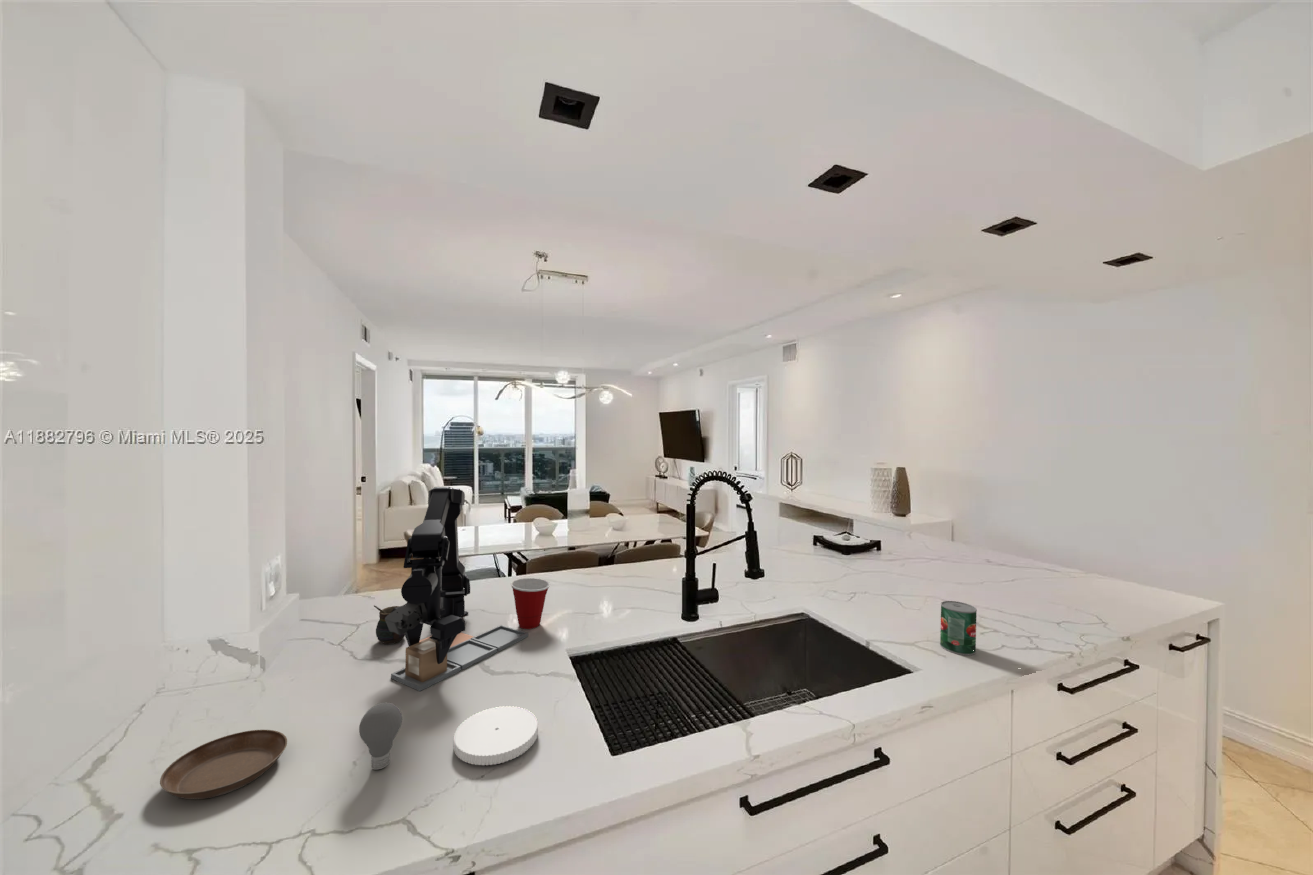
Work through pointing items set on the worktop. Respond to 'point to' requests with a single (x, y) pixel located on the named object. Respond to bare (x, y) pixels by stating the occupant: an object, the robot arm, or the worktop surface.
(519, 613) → the plastic cup
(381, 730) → the light bulb
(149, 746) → the worktop surface
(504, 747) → the plastic lid
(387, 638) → the mate gourd
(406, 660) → the cardboard box
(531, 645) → the worktop surface
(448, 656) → the tray
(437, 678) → the tray
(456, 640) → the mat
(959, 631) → the canned tomato
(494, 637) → the tray
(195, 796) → the saucer
